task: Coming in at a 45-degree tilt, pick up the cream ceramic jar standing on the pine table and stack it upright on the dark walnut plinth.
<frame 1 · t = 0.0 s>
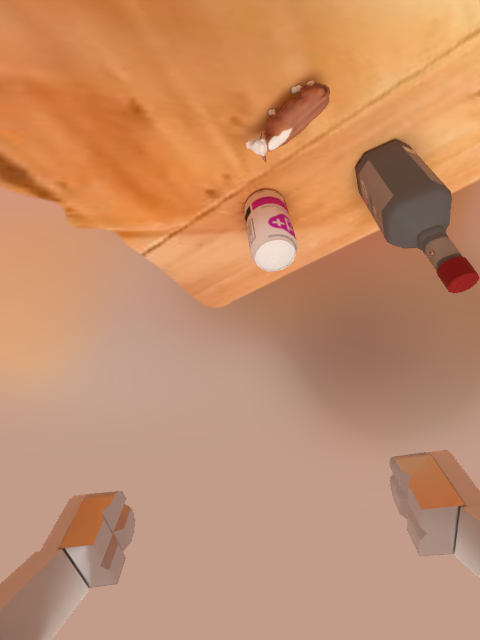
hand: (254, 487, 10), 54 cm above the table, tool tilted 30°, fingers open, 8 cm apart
liquor: (380, 167, 59), on the table
bull figurine: (281, 109, 50), on the table
supplement can: (264, 206, 63), on the table
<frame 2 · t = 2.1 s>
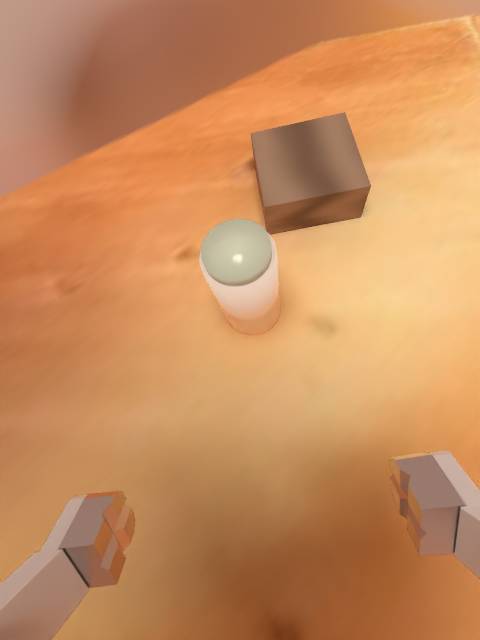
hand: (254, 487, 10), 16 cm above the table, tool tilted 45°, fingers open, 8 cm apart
jar: (252, 308, 29), on the table
plinth: (304, 189, 32), on the table
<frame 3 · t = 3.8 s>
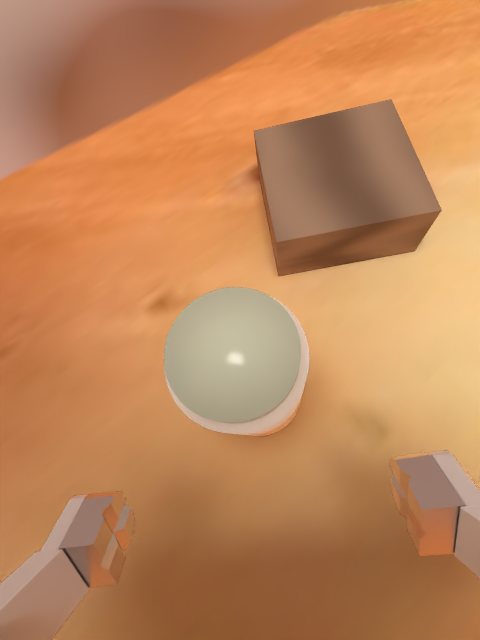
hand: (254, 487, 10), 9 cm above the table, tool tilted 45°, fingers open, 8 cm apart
jar: (258, 391, 19), on the table
plinth: (329, 210, 23), on the table
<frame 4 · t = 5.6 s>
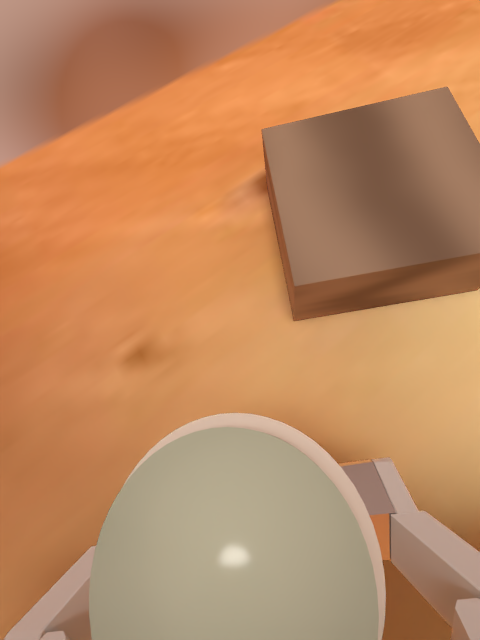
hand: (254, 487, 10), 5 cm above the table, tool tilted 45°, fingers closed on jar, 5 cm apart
jar: (268, 487, 14), on the table, touching gripper
plinth: (359, 232, 18), on the table
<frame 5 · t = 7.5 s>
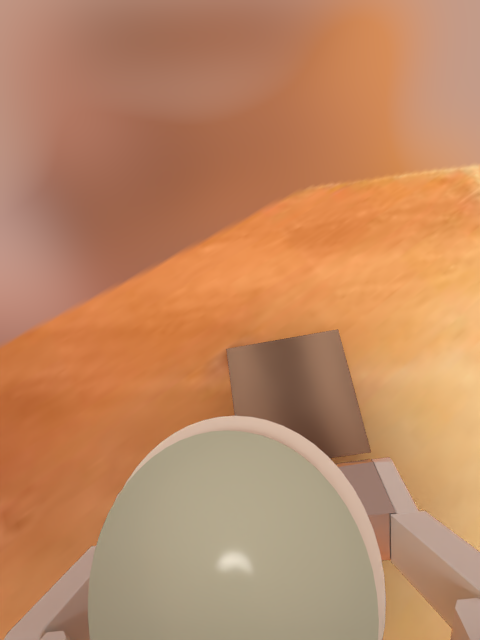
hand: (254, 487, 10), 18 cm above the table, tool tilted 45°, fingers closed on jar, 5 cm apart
jar: (268, 489, 14), point 13 cm above the table, touching gripper
plinth: (292, 401, 27), on the table
when the fingers open (11 cm above the table, at t = 9.9 s): jar drops 2 cm, resting on plinth.
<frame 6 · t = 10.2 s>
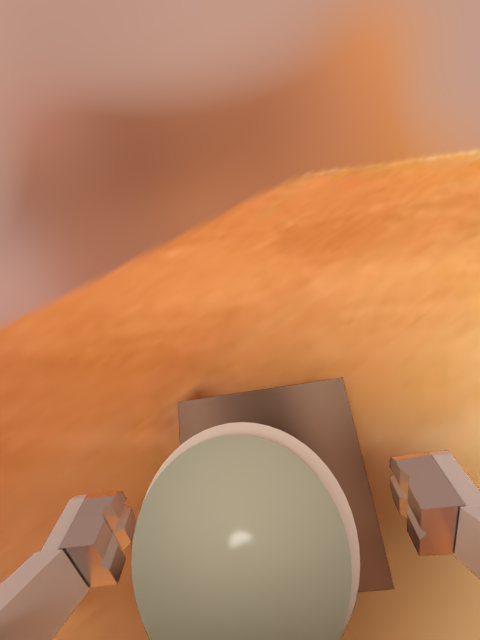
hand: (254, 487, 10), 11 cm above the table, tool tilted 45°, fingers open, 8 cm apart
jar: (269, 484, 15), point 4 cm above the table, touching plinth
plinth: (275, 474, 19), on the table
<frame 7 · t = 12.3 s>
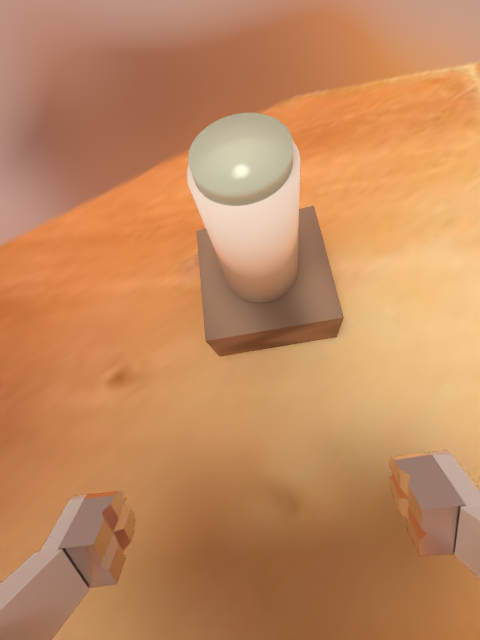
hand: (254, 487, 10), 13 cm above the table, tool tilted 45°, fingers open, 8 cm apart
jar: (261, 270, 22), point 4 cm above the table, touching plinth
plinth: (267, 294, 26), on the table
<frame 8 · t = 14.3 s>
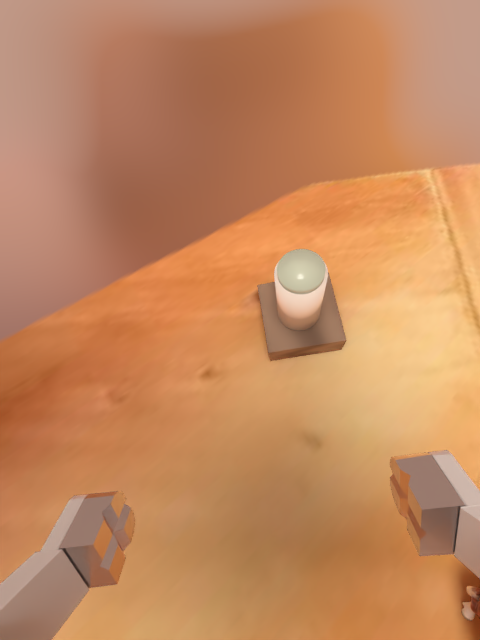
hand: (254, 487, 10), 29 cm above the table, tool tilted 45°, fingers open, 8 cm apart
jar: (298, 311, 38), point 4 cm above the table, touching plinth
plinth: (298, 322, 42), on the table
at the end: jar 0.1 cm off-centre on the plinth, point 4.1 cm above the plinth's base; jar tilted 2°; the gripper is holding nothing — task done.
